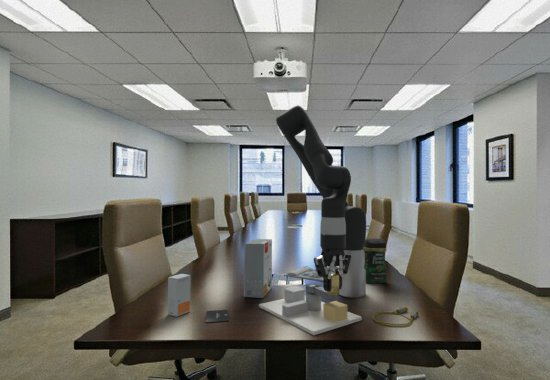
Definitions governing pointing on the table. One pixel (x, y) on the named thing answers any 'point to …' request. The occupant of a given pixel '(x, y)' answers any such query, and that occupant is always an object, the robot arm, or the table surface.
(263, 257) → the hard drive box
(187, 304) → the skincare box
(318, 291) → the bar
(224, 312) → the solid state drive
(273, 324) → the table surface
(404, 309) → the extension cord
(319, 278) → the grey patterned tray
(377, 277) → the coffee jar
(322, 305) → the base
